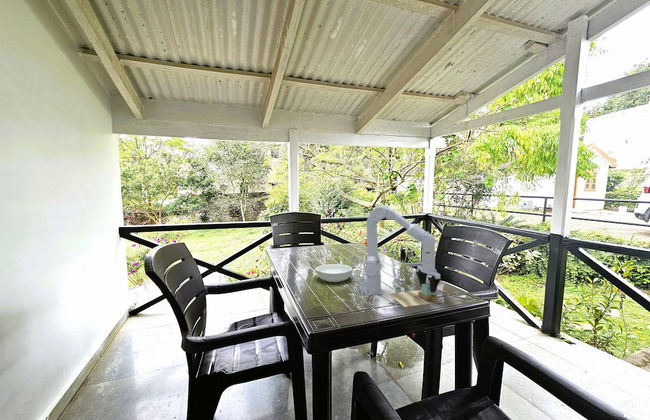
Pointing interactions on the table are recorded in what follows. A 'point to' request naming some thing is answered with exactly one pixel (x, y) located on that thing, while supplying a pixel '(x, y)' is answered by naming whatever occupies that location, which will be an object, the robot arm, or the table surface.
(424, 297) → the walnut slab
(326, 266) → the serving bowl
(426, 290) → the teal block
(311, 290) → the table surface
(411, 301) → the build board
